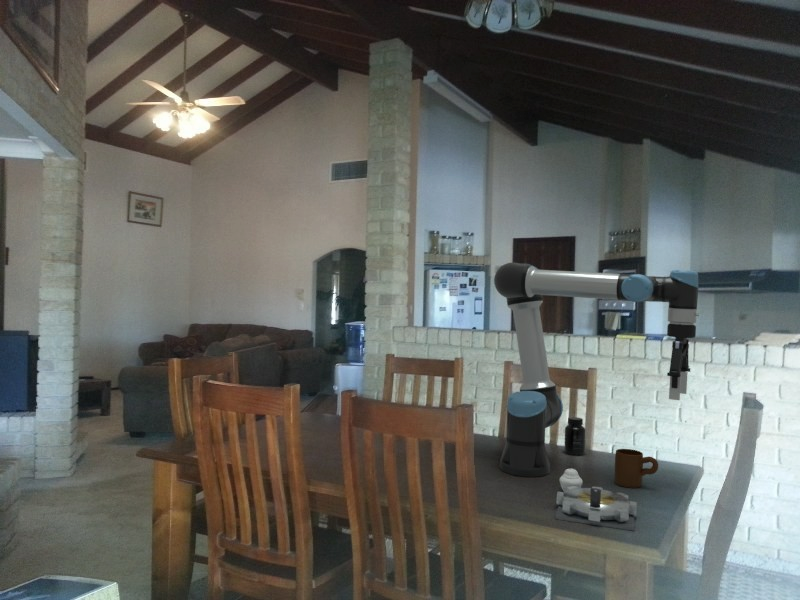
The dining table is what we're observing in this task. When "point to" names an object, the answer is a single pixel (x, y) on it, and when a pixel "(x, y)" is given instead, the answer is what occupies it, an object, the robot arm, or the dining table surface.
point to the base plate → (607, 523)
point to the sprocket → (596, 504)
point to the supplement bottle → (575, 437)
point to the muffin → (570, 479)
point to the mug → (632, 467)
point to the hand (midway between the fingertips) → (677, 396)
